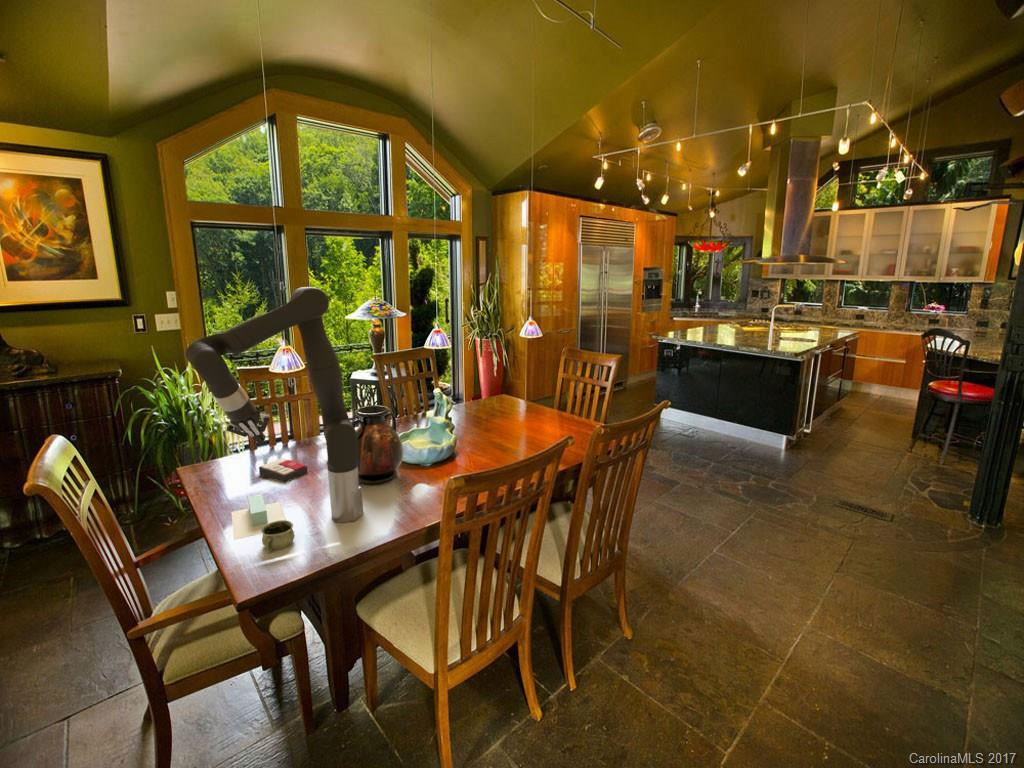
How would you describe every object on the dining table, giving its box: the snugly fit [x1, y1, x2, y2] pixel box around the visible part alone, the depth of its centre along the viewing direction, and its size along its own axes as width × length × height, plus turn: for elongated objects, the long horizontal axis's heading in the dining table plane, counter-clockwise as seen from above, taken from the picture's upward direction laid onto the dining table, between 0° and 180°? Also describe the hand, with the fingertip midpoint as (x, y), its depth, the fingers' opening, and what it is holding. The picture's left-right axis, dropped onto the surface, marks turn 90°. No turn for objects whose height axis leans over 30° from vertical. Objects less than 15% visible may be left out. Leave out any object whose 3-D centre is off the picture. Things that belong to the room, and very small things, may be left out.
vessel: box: [260, 519, 296, 554], centre depth 146 cm, size 12×9×6 cm
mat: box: [230, 501, 287, 541], centre depth 161 cm, size 20×15×1 cm
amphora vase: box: [351, 405, 405, 486], centre depth 192 cm, size 22×22×28 cm
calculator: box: [258, 457, 308, 483], centre depth 198 cm, size 11×4×15 cm
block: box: [247, 493, 268, 526], centre depth 163 cm, size 4×4×14 cm
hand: (261, 441), depth 154 cm, fingers closed
